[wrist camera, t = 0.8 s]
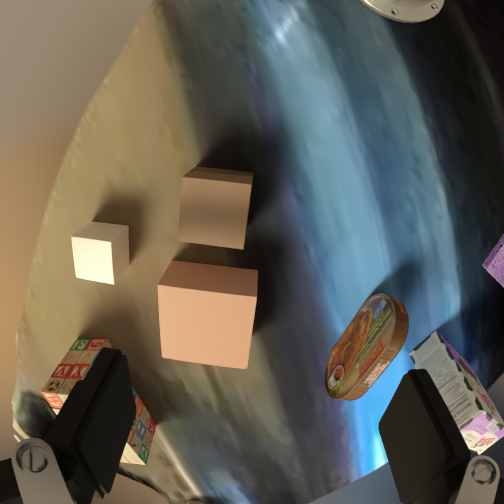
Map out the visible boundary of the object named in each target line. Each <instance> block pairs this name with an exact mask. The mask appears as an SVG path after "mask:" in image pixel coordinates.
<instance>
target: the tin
mask: <svg viewBox="0 0 504 504" xmlns="http://www.w3.org/2000/svg"><path fill="white" fill-rule="evenodd" d="M408 327H409V318H408V314H407V311H406V309H405V307H404V305H403V304H402V303H401V302H400V301H399V300H397V299H395V298H392V297H389V296H388V295H387V294H384V293H377V294H375V295H372V296H371V297H370V298H368V299H367V300H366V301H365V302H364V303H363V305H362V306H361V308H360V309H359V311H358V312H357V314H356V315H355V317H354V319H353V320H352V322H351V323H350V325H349V326H348V328H347V329H346V331H345V332H344V333H343V335H342V336H341V338H340V339H339V341H338V342H337V343H336V345H335V346H334V348H333V349H332V351H331V353H330V355H329V358H328V361H327V364H326V368H325V376H324V381H325V388H326V391H327V393H328V395H329V396H330V397H331V398H333V399H336V400H339V399H340V400H348V401H352V400H356V399H359V398H360V397H362V396H363V395H364V394H365V393H366V392H367V391H368V389H369V388H370V387H371V386H372V385H373V384H374V382H375V381H376V380H377V379H378V378H379V377H380V375H381V374H382V373H383V372H384V371H385V369H386V368H387V367H388V366H389V364H390V363H391V362H392V361H393V359H394V358H395V357H396V356H397V354H398V353H399V352H400V350H401V349H402V347H403V345H404V343H405V340H406V337H407V333H408Z"/></svg>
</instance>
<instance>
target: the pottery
mask: <svg viewBox="0 0 504 504" xmlns="http://www.w3.org/2000/svg"><path fill="white" fill-rule="evenodd" d="M187 504H206V503H204V502H201V501H194V500H191V501H187Z"/></svg>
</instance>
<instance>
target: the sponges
mask: <svg viewBox="0 0 504 504" xmlns="http://www.w3.org/2000/svg"><path fill="white" fill-rule="evenodd" d="M482 266H483V267H484V268H485V269H486V270H487V271H488V272H489V273H490V274H491V275H492V276H493V277H494V278H495V279H496V280H497V281H498V282H499V283H500V284H501V286H502V287H503V288H504V234H503V235H502V237H501V238H500V240H499V242H498V243H497V245H496V246H495V247H494V249H493V250H492V251H491V253H490V254H489V256H488V257H487V258H486V260H485V261H484V263H483V264H482Z"/></svg>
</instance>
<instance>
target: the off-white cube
mask: <svg viewBox="0 0 504 504" xmlns="http://www.w3.org/2000/svg"><path fill="white" fill-rule="evenodd" d="M72 247H73V256H74V264H75V272H76V277H77V278H82V279H87V280H93V281H98V282H103V283H109V284H115V283H116V281H117V280H118V279H119V277H120V276H121V275H122V274H123V272H124V271H125V270H126V269H127V267H128V266H129V265H130V261H129V227H128V226H126V225H117V224H109V223H101V222H90V223H89V224H88V225H86V226H85V227H84V228H82V229H81V230H79V231H78V232H77V233H75V234H74V235H73V236H72Z"/></svg>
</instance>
